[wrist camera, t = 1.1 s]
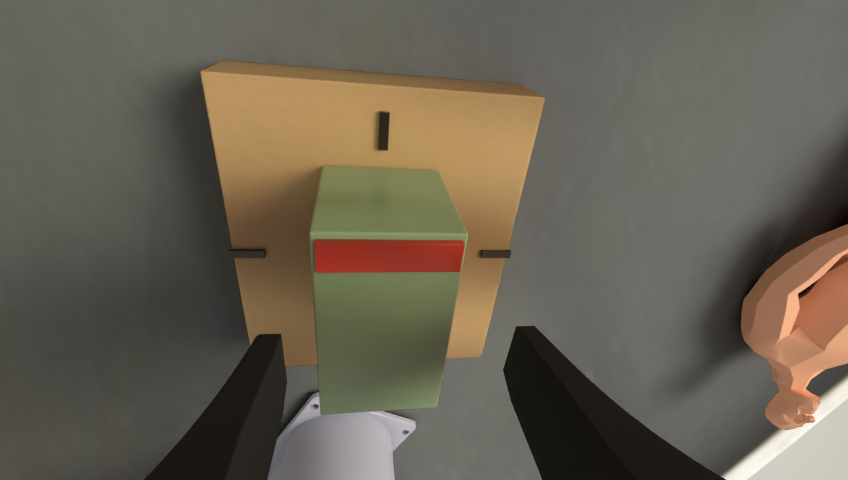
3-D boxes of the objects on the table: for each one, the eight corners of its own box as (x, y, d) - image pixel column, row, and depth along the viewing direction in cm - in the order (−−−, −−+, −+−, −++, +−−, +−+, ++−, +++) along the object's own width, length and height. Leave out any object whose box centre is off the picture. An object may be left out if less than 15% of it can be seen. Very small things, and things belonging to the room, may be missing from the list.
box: (420, 319, 20) (438, 413, 15) (328, 322, 19) (319, 421, 14) (439, 169, 16) (471, 238, 11) (322, 164, 15) (307, 236, 10)
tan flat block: (472, 326, 24) (484, 359, 22) (261, 332, 22) (250, 370, 20) (524, 84, 17) (550, 98, 15) (218, 59, 15) (193, 71, 12)
